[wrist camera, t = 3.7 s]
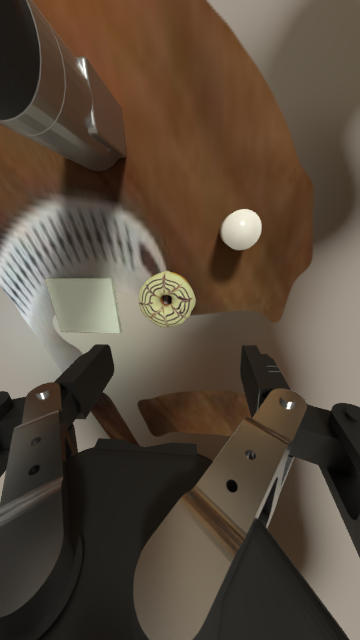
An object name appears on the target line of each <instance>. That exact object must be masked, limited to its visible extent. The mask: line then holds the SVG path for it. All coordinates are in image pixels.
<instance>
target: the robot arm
mask: <svg viewBox="0 0 360 640" xmlns="http://www.w3.org/2000/svg"><path fill="white" fill-rule="evenodd" d="M0 125H2V126H4V127H6V128H8V129H10V130H12V131H14V132H16V133H18V134H20V135H22V136H24V137H26V138H28V139H30V140H32V141H34V142H36V143H38V144H40V145H42V146H44V147H46V148H48V149H50V150H52V151H54V152H56V153H58V154H60V155H62V156H64V157H66V158H68V159H70V160H72V161H74V162H76V163H78V164H80V165H82V166H84V167H86V168H88V169H90V170H93V171H105V170H107V169H109V168H111V167H112V166H114V164H115V163H116V162H117V161H118V160H119V159H121V158H125V157H126V150H125V141H124V132H123V123H122V114H121V107H120V105H119V103H118V102H117V101H116V99H115V98H114V96H113V95H112V94H111V92H110V91H109V89H108V88H107V86H106V85H105V84H104V82H103V81H102V79H101V78H100V77H99V75H98V74H97V72H96V71H95V69H94V68H93V67H92V65H91V64H90V62H89V61H88V60H87V58H86V57H77V58H76V57H75V56H74V55H73V54H72V52H71V51H70V50H69V48H68V47H67V46H66V44H65V43H64V42H63V41H62V39H61V38H60V37H59V35H58V34H57V33H56V31H55V30H54V29H53V28H52V26H51V25H50V24H49V22H48V21H47V20H46V18H45V17H44V16H43V15H42V13H41V12H40V10H39V9H38V8H37V6H36V5H35V4H34V3H33V1H32V0H0ZM113 373H114V363H113V359H112V354H111V349H110V346H109V345H94V346H93V347H92V349H90V351H89V352H87V353H85V354H83V355H82V356H80V357H79V358H78V359H77V360H76V361H75V362H74V363H73V364H72V365H71V366H70V367H69V368H68V369H67V370H66V371H65V372H64V373H63V374H62V375H61V376H60V377H59V378H58V379H57V380H56V381H55V382H53V383H46V384H42V385H40V386H38V387H36V388H34V389H33V390H32V391H30V392H29V393H28V394H27V396H26V397H22V398H17V399H11V397H10V395H9V394H8V392H5V391H1V392H0V477H1V475H2V474H3V473H4V472H5V471H6V474H5V480H4V486H3V491H2V496H1V502H0V640H349V639H348V637H347V635H346V634H345V633H344V631H343V630H342V628H341V627H340V626H339V624H338V623H337V622H336V620H335V619H334V618H333V616H332V615H331V614H330V612H329V611H328V610H327V608H326V607H325V605H324V604H323V603H322V602H321V600H320V599H319V597H318V596H317V595H316V593H315V592H314V591H313V589H312V588H311V587H310V585H309V584H308V583H307V581H306V580H305V579H304V577H303V576H302V575H301V573H300V572H299V571H298V569H297V568H296V567H295V565H294V564H293V563H292V561H291V560H290V559H289V557H288V556H287V555H286V553H285V552H284V551H283V549H282V548H281V546H280V545H279V544H278V543H277V541H276V540H275V539H274V537H273V536H272V534H271V533H270V532H269V531H268V529H267V528H268V525H269V522H270V520H271V518H272V515H273V512H274V509H275V506H276V503H277V500H278V497H279V494H280V491H281V489H282V486H283V484H284V482H285V479H286V477H287V474H288V471H289V469H290V467H291V464H292V462H293V459H294V457H297V458H300V459H303V460H306V461H308V462H311V463H314V464H317V465H319V467H320V469H321V471H322V474H323V476H324V478H325V480H326V483H327V485H328V487H329V490H330V492H331V494H332V496H333V498H334V501H335V503H336V505H337V508H338V510H339V512H340V514H341V517H342V519H343V521H344V523H345V526H346V528H347V530H348V532H349V534H350V537H351V539H352V541H353V544H354V546H355V548H356V550H357V553H358V555H359V557H360V407H358V406H355V405H352V404H347V403H338V404H335V405H334V406H333V407H332V410H331V411H329V410H325V409H321V408H317V407H314V406H311V405H308V404H307V403H306V401H305V399H304V398H303V397H302V396H301V395H299V394H298V393H296V392H294V391H292V390H290V388H289V386H288V384H287V383H286V381H285V379H284V377H283V375H282V374H281V372H280V370H279V369H278V367H277V365H276V363H275V362H274V360H273V359H272V358H271V357H269V356H268V355H267V354H260V352H259V350H258V348H257V346H256V345H243V346H242V353H241V366H240V373H241V380H242V384H243V388H244V391H245V395H246V399H247V402H248V406H249V410H250V414H251V417H252V419H250V418H248V417H247V418H245V419H244V420H243V422H242V423H241V424H240V426H239V427H238V428H237V430H236V431H235V432H234V434H233V435H232V437H231V438H230V439H229V441H228V442H227V444H226V445H225V446H224V447H223V449H222V450H221V452H220V453H219V454H218V456H217V457H216V458H215V460H214V461H212V460H211V459H209V458H208V457H205V456H203V455H201V454H198V453H197V444H187V443H167V444H162V445H156V446H151V447H141V446H138V445H135V444H133V443H130V442H127V441H124V440H119V439H101V438H99V439H98V441H97V443H96V445H95V447H93V448H90V449H86V450H84V451H82V452H79V453H78V449H77V442H76V435H75V429H74V425H73V422H74V420H75V419H86V417H87V416H88V414H89V412H90V411H91V409H92V408H93V406H94V404H95V403H96V401H97V400H98V398H99V396H100V395H101V393H102V392H103V390H104V388H105V387H106V385H107V384H108V382H109V381H110V379H111V377H112V376H113Z"/></svg>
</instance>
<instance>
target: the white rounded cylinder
mask: <svg viewBox="0 0 360 640" xmlns="http://www.w3.org/2000/svg"><path fill="white" fill-rule="evenodd" d="M261 228H262V227H261V221H260V218H259V217H258V215H257V214H256V213H255V212H253V211H251V210H248V209H241V210H238V211H235V212H234V213H232V214H230V215H229V216H227V217H226V218H225V219H224V220H223V221H222V223H221V225H220V230H219V231H220V237H221V239H222V241H223V242H224V243H226V244H227V245H228V246H229V247H231V248H232V249H235V250H245V249H248V248H250V247H251V246H253V245H254V244H255V243H256V241H257V240H258V238H259V236H260V234H261Z"/></svg>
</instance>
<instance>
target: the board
mask: <svg viewBox="0 0 360 640" xmlns="http://www.w3.org/2000/svg"><path fill="white" fill-rule="evenodd" d="M45 280H46V284H47V287H48V290H49V293H50V297H51V300H52V303H53V307H54V310H55V313H56V316H57V320H58V323H59V326H60V330H61V332H84V333H116V334H117V333H118V334H120V333H121V332H122V329H121V323H120V317H119V312H118V305H117V299H116V293H115V287H114V281H113V278H48V279H45Z"/></svg>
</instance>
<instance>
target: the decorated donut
mask: <svg viewBox="0 0 360 640" xmlns="http://www.w3.org/2000/svg"><path fill="white" fill-rule="evenodd" d="M163 295H170V296H171V297H172V301H171V302H172V303H171V304H169V305H167V304H164V303H163V300H162V296H163ZM138 299H139V306H140V309H141V311H142V313H143V314H144V315H145V317H146V318H148V319H149V320H150V321H152V322H153V323H154V324H156V325H158V326H161V327H172V326H176V325H179V324H182V323H183V322H184V321H185V320H186V319H187V318H188V317H189V316H190V314H191V311H192V310H193V308H194V306H195V303H196V298H195V295H194V293H193V290H192V289H191V286H190V285H189V283H188V281H187V280H186V279H185V278H183V277H182V276H181V275H179V274H177V273H173V272H169V271H165V272H162V273H159V274H156V275H154V276H152V277H151V278H149V279H148V280H147V281H146V282H145V284H144V285H143V286H142V288H141V290H140V293H139V298H138Z"/></svg>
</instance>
